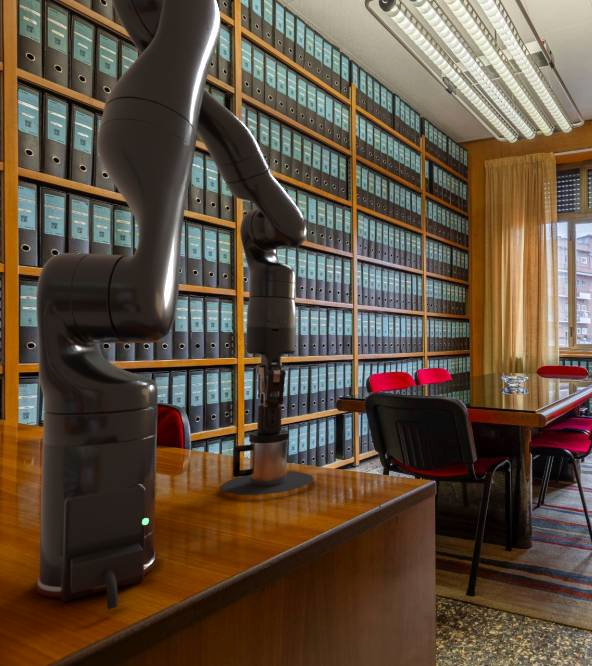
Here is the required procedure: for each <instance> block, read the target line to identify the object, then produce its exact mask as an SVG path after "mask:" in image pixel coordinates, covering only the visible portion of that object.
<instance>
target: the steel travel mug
mask: <svg viewBox="0 0 592 666" xmlns="http://www.w3.org/2000/svg"><path fill="white" fill-rule="evenodd" d="M289 437H290V432H289V430H287V429H282V405H281V407H279V428H278V430H272V431H266V430H265V429H264V406H263V404H259V405H257V429H256V430H255V431H252V432H250V433H249V435H248V438H249V439H248V442H249V443H250V444H242V445H241V444H240V445H234V447H233V449H232V476H233V477H234V478H238V477H242V476H248V475H250V485H252V486H261V487H262V486H273V485H278V484H281V483H284V482H286V480H287V471H288V440H289ZM241 452H249V468H247V469H241Z"/></svg>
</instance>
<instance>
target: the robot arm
mask: <svg viewBox="0 0 592 666" xmlns="http://www.w3.org/2000/svg"><path fill="white" fill-rule="evenodd" d="M111 1H112V5H113V8H114V11H115V13H116V15H117V17H118V19H119V21H120V23H121V25H122V27H123V28H124V30H125V32H126V33H127V35H128V37H129V39H130V40H131V41H132V43H133V44H134V46H135V48H137V50H138V51H139V53H140V54H139V56H138V57H137V58H136V59H135V60H134V61H133V62H132V64H131V65H130V66H129V67H128V68H127V69H126V71H124V73H123V74H122V75H121V76H120V78H119V79H118V80H117V81H116V83H115V84H114V85H113V87H112V89H111V90H110V92H109V94H108V96H107V98H106V101H105V103H104V108H103V112H102V117H101V120H100V125H99V129H98V132H97V133H98V135H97V139H96V150H97V153H98V157H99V159H100V162H101V164H102V166H103V167H104V169H105V171H106V173H107V174H108V176H109V178H110V180H111V182H112V184H114V186H115V187H116V189H117V190H118V192H119V193H120V195H121V197H122V198H123V199H124V200H125V202H126V204H127V205H128V207H129V210H130V211H131V213H132V215H133V217H134V219H135V221H136V225H137V233H138V234H137V235H138V237H137V246H136V247H137V248H136V250H135V252H134V254H133V255H127V254H126V255H125V254H123V255H122V254H104V253H83V252H64V253H58V254H55V255H52V256H51V257H50V258H49V259H48V260H47V261H46V262H45V263H44V265H43V267H42V269H41V271H40V273H39V276H38V281H37V286H36V297H35V298H36V299H35V300H36V304H35V306H36V310H35V311H36V328H37V330H36V331H37V349H38V350H37V351H38V380H39V385H40V389H41V392H42V395H43V420H42V422H43V423H42V424H43V425H42V450H41V451H42V452H41V483H40V485H41V486H40V488H41V490H40V519H39V521H40V523H39V527H40V528H39V567H38V568H39V571H38V577H37V584H36V585H37V586H36V587H37V588H36V590H37V593H38V594H40V595H42V596H43V597H49V598H60V599H61V601H62V602H69V601H72V600H76V599H80V598H83V597H87V596H90V595H94V594H95V595H96V594H98V593H103V592H106V610H111V609H115V608H118V605H119V604H118V602H119V601H118V600H119V599H118V598H119V597H118V595H119V594H118V588H121V587H125V586H128V585H133V584H136V583H139V582H142V581H144V580H145V575H147V574H148V573H150V572H151V571H152V570H153V568H154V567H155V565H156V552H155V535H156V534H155V532H156V531H155V530H156V527H155V526H156V525H155V522H156V518H155V517H156V484H157V440H158V439H157V438H158V437H157V436H158V408H159V407H158V404H159V402H158V401H159V389H158V385H157V382H156V381H155V380H153V379H152V378H150V377H147V376H144V375H140V374H137V373H134V372H132V371H131V372H130V371H129V370H125V369H123V368H121V367H119V366H116V365H115V364H113V363H112V362H110V361H109V360H107V359H106V358H105V357H104V356H103V354H102V350H101V344H151V343H158V342H161V341H163V340H164V339H166V337H167V336H169V334H170V332H171V331H172V329H173V326H174V323H175V319H176V314H177V311H178V303H179V289H180V275H181V272H180V271H181V257H182V256H181V255H182V238H183V225H184V217H185V209H186V208H185V207H186V202H187V197H188V191H189V185H190V180H191V176H192V170H193V164H194V161H195V160H194V159H195V152H196V145H197V139H198V137H199V138H200V140H201V141H202V143H203V145H204V147H205V148H206V150H207V151H208V154H209V155H210V157H211V159H212V160H213V163H214V164H215V166H216V168H217V170H218V172H219V174H220V176H221V178H222V180H223V181H224V183H225V185H226V187H227V189H228V190H229V192H230V194H231V195H232V196H233V197H234V198H236V199H239V200H243V201H247V202H250V203H252V204H253V205H254V206H255V207H256V208H252V209H250V210H249V211H246V213H245V215H244V216H243V218H242V220H241V223H240V228H239V229H240V230H239V233H240V235H239V236H240V241H241V245H242V249H243V253H244V257H245V260H246V261H245V262H246V264H247V268H248V271H249V289H248V291H249V292H248V293H249V294H248V305H247V309H246V337H245V338H246V342H245V343H246V344H245V351H246V353H247V354H250V355H260V356H261V357H260V364H257V365H256V368H255V369H256V371H255V372H256V375H257V381H256V383H257V384H256V389H257V398H258V403H259V405H263V406H264V429H265V430H266V431H272V430H278V428H279V407H281V406H282V405H283V404H284V394H285V380H286V375H287V372H286V365H284V364H282V356H283V355H293V354H295V353H296V342H297V341H296V337H297V336H296V335H297V308H296V273H295V272H296V271H295V270H294V268H293V267H292V266H291V265H289V264H287V263H284V262H283V263H282V262H280V261H279V258H278V255H277V250H288V249H295V248H298V247H300V246H301V245H302V244H303V243H304V242H305V240H306V237H307V232H308V231H307V228H308V227H307V223H306V219H305V216H304V214H303V213H302V211H301V209H300V208H299V206H298V205H297V204H296V203H295V201H294V199H293V198H292V197H291V196H290V195H289V193H288V192H287V191H286V190H285V188H284V187H283V186H282V184H280V182H279V181H278V180H277V179H276V178H275V176H274V175H273V173H272V170H271V168H270V166H269V164H268V162H267V159H266V157H265V155H264V153H263V151H262V149H261V147H260V145H259V143H258V141H257V139H256V138H255V136H254V135H253V133H252V132H251V130H250V129H249V128H248V127H247V126H246V124H245V123H244V122H242V120H240V118H238V116H236V115H235V114H234V113H233V112H232V111H231V110H229V109H228V108H227V107H226V106H225V105H224V104H222V102H220V101H219V100H218V99H217V98H216V97H215V96H213V94H211V92H210V91H208V89H206V82H207V79H208V78H207V77H208V75H209V74H208V73H209V71H210V68H211V64H212V61H213V59H214V55H215V53H216V49H217V46H218V43H219V39H220V34H221V13H220V8H219V5H218V4H219V3H218V1H217V0H111ZM281 408H282V407H281Z"/></svg>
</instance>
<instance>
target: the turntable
mask: <svg viewBox="0 0 592 666" xmlns="http://www.w3.org/2000/svg"><path fill="white" fill-rule="evenodd" d="M313 480H314V477H313V475H311V474H309V473H306V472H301V471H293V470H291V471H288V470H287V480H286V482H284V483H281V484H278V485H273V486H262V487H261V486H252V485H250V475H248V476H240V477H234V478H232V479H230V480H227V481H226V482H223V483H222V484H221V485H220V490H221V491H222V492H224V493H226V494H232V495H239V496H240V495H244V496H254V495H255V496H256V495H257V496H259V495H269V494H276V493H277V494H278V493H282V492H288V491H292V490H296V489H299V488H302V487H304V486H307V485H309V484H310V483H312V482H313Z"/></svg>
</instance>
